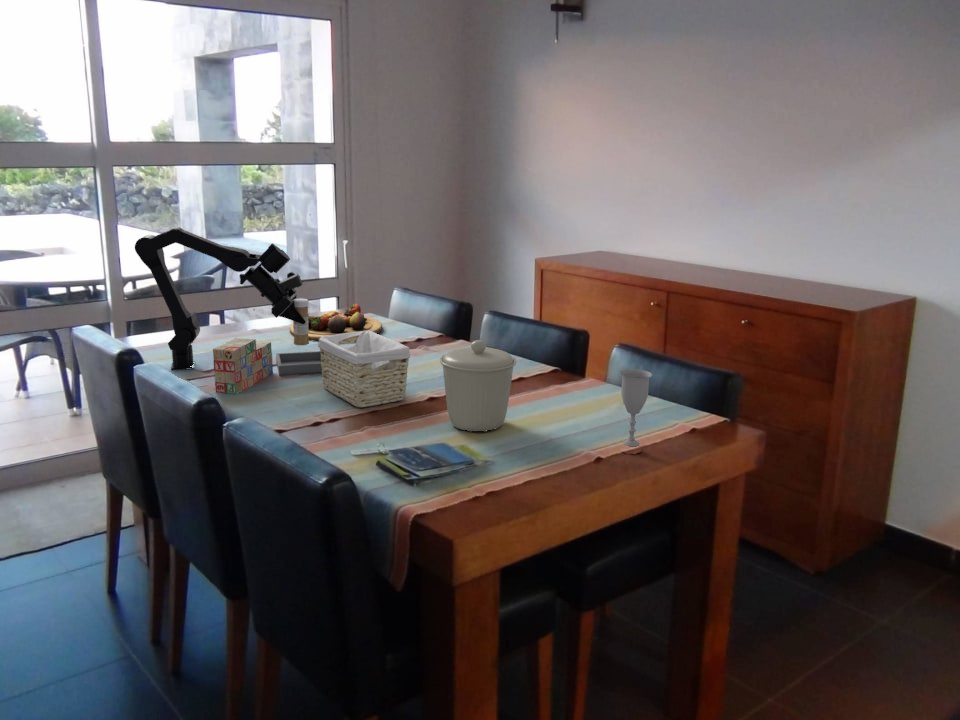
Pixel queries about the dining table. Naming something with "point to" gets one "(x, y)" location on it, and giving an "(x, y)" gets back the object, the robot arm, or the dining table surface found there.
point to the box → (299, 363)
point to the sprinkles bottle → (300, 329)
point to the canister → (477, 386)
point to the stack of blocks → (241, 364)
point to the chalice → (634, 397)
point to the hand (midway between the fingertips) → (305, 321)
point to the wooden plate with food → (340, 323)
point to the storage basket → (364, 368)
